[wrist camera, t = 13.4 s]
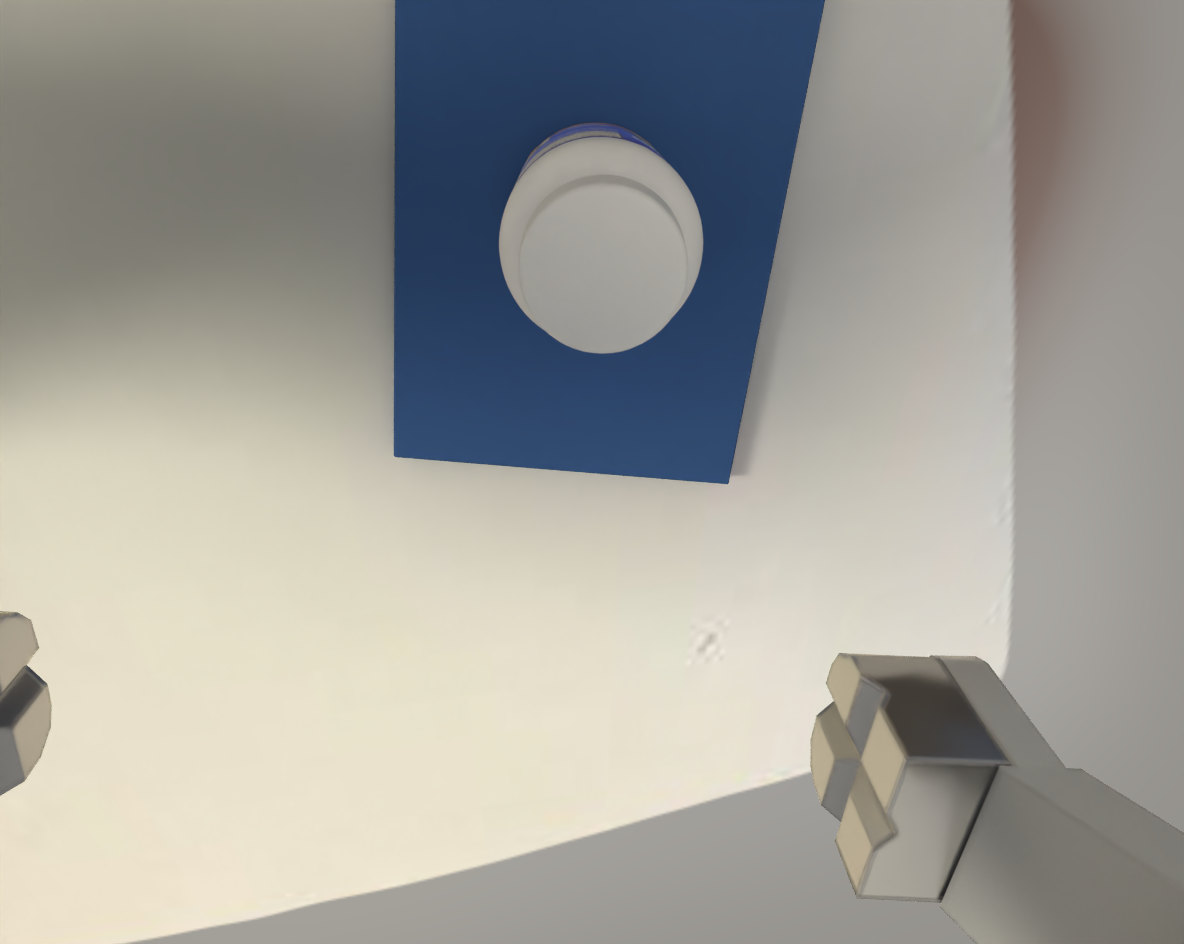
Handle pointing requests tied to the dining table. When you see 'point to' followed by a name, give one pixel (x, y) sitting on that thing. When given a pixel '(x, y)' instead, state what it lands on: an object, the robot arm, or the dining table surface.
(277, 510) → the dining table surface
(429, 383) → the blue pad
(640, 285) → the pill bottle
